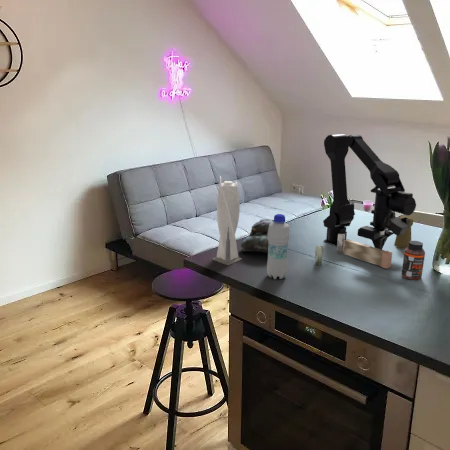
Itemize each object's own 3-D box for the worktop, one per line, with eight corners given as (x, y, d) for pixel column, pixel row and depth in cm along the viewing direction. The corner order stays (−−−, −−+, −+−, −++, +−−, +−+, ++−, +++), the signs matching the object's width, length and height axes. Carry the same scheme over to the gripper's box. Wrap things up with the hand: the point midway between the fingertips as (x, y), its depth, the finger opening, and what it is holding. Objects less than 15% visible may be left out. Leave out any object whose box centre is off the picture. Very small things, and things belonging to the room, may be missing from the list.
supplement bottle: (411, 282, 153) (416, 247, 150) (397, 275, 158) (401, 241, 155) (425, 278, 156) (430, 244, 153) (410, 271, 161) (415, 238, 158)
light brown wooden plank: (342, 254, 174) (343, 240, 173) (346, 252, 176) (348, 238, 174) (386, 268, 162) (388, 254, 160) (390, 266, 163) (392, 252, 162)
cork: (412, 249, 181) (416, 219, 178) (395, 247, 182) (398, 218, 179) (410, 243, 187) (413, 215, 183) (393, 242, 188) (396, 214, 185)
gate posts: (313, 264, 166) (314, 244, 164) (338, 251, 178) (340, 232, 176) (319, 266, 165) (321, 245, 163) (344, 253, 177) (346, 234, 174)
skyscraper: (209, 258, 170) (209, 177, 162) (226, 252, 176) (226, 173, 167) (228, 265, 165) (229, 181, 156) (244, 258, 170) (246, 177, 162)
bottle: (289, 273, 158) (292, 212, 152) (285, 282, 152) (288, 218, 146) (268, 271, 160) (271, 210, 154) (263, 279, 154) (265, 216, 148)
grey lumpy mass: (232, 250, 178) (240, 212, 180) (259, 258, 184) (266, 221, 186) (257, 250, 165) (265, 210, 167) (285, 259, 171) (293, 219, 173)
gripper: (389, 218, 154) (384, 266, 159) (420, 208, 166) (415, 252, 170) (358, 210, 162) (354, 256, 166) (390, 201, 174) (385, 244, 178)
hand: (378, 252), depth 170 cm, fingers closed
